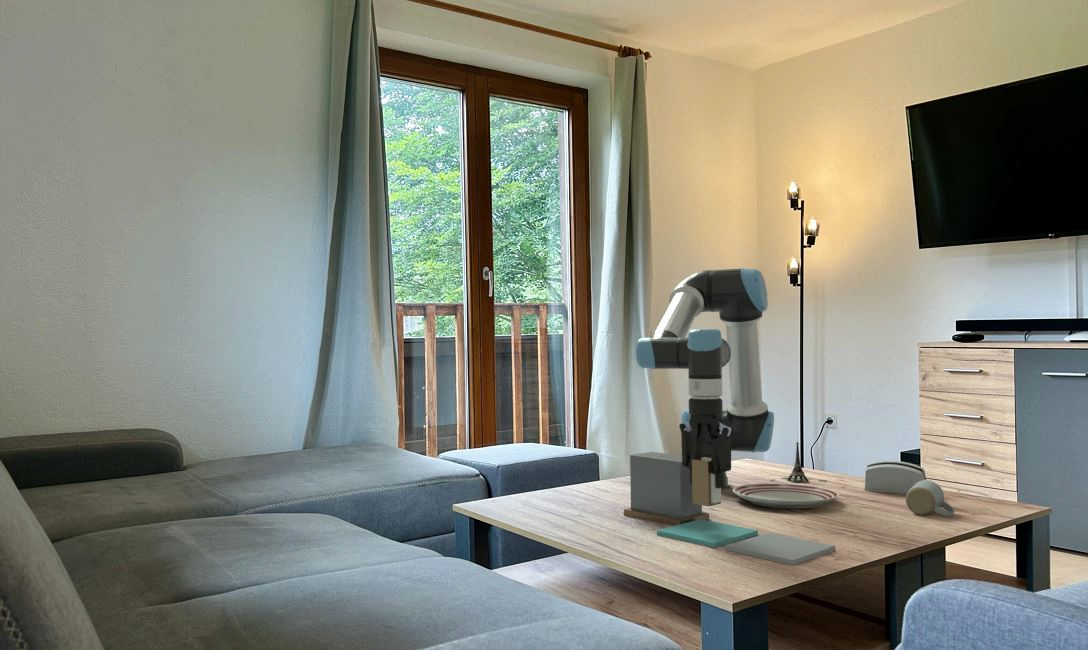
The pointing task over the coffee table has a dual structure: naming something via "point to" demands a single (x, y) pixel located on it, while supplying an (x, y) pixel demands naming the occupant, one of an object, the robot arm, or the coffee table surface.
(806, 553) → the grey pad
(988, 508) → the coffee table surface
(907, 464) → the napkin holder
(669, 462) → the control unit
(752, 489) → the dinner plate
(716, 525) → the teal pad
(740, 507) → the coffee table surface
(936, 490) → the ceramic mug
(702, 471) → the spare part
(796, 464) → the eiffel tower figurine
